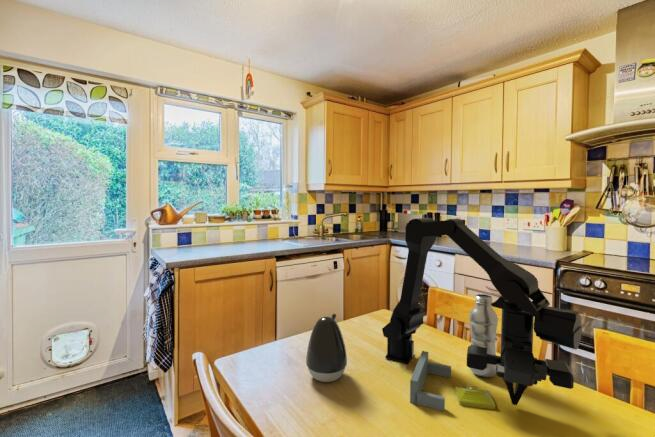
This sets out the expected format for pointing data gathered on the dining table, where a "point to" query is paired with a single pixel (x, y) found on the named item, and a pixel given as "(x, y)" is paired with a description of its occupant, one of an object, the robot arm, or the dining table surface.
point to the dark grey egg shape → (326, 350)
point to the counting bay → (419, 379)
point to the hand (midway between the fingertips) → (514, 403)
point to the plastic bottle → (484, 330)
